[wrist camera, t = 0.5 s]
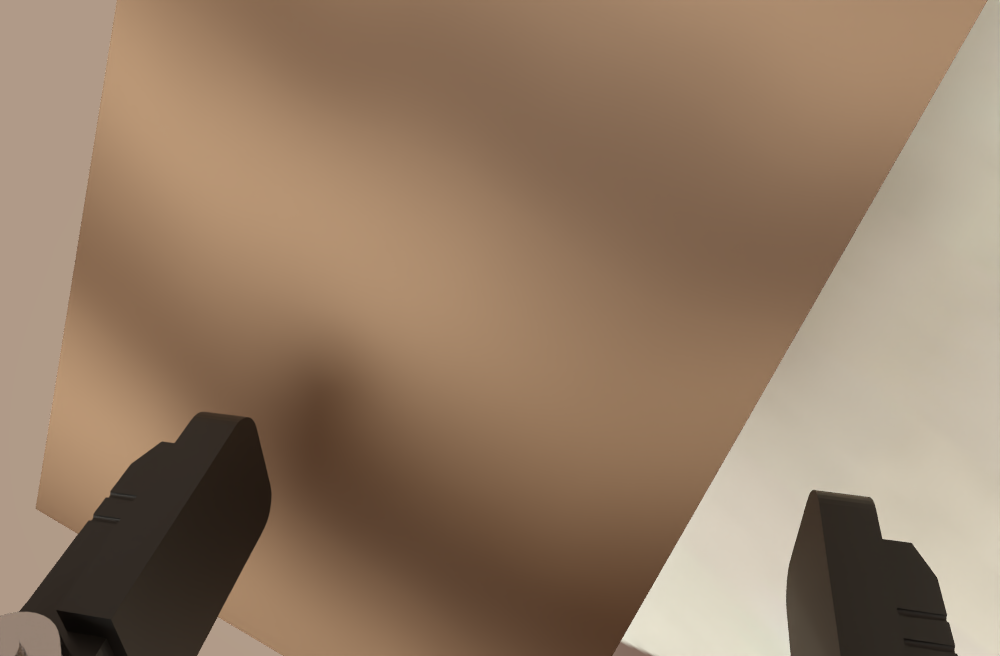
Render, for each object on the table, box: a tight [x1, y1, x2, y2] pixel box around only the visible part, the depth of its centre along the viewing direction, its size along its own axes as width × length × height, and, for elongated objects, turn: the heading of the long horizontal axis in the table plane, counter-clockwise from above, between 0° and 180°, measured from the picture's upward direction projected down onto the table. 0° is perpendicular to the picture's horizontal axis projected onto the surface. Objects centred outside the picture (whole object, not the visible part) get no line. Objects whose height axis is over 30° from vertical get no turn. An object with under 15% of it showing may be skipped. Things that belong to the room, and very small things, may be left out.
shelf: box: [36, 0, 987, 656], centre depth 23 cm, size 25×12×24 cm, turn 159°
